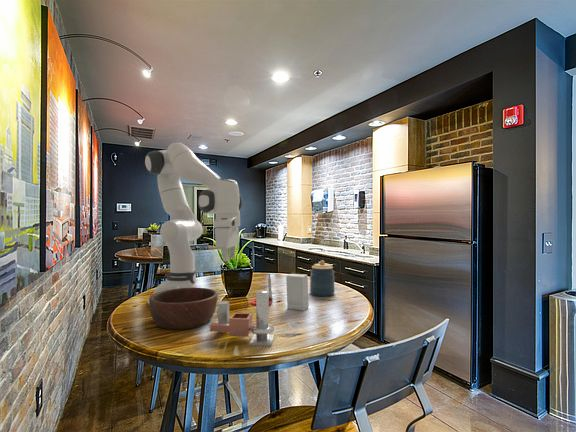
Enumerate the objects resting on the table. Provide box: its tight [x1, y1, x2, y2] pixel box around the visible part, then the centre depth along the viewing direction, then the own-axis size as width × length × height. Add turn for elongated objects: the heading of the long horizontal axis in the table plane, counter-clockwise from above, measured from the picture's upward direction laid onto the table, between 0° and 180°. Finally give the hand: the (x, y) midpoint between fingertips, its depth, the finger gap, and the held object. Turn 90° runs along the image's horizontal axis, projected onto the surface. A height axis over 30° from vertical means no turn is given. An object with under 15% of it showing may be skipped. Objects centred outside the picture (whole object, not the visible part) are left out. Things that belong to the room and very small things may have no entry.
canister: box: [309, 259, 336, 297], centre depth 163 cm, size 13×13×18 cm
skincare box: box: [285, 273, 310, 312], centre depth 137 cm, size 8×6×15 cm
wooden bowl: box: [148, 287, 218, 330], centre depth 120 cm, size 25×25×10 cm
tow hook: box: [250, 273, 274, 306], centre depth 145 cm, size 9×14×10 cm
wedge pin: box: [217, 300, 230, 334], centre depth 110 cm, size 3×3×10 cm
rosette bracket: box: [209, 289, 275, 347], centre depth 101 cm, size 21×8×16 cm, turn 86°
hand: (229, 259), depth 115 cm, fingers open, 8 cm apart
